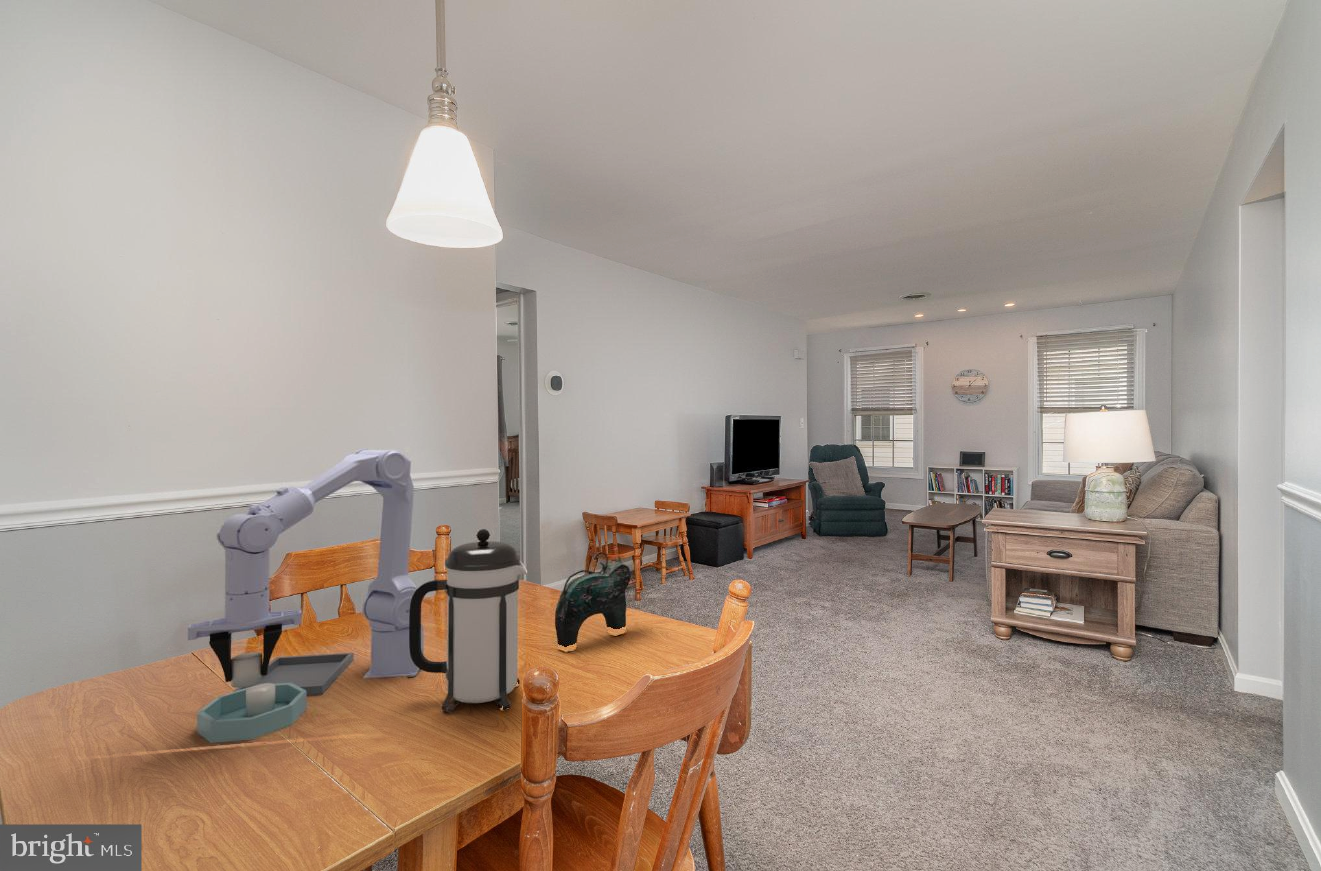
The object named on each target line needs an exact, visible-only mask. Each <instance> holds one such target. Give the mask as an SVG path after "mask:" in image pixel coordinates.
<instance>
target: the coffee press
mask: <svg viewBox="0 0 1321 871" xmlns="http://www.w3.org/2000/svg"><path fill="white" fill-rule="evenodd" d="M475 536H476V538H477V540H478V541H475V542H468V543H463V544H461V545H458V546H456V547H454V548H453V549H452V550H451V551H450V552H449V554H448V556H447V558H446V559H444V567H445V569H446V580H439V579H433V580H429V581H426V582H425V583H423V584H421V585H420V586H419V587H417V590H416V591H415V593H414V594H413V596H412V599H411V603H410V613H409V649H410V656H411V659H412V661H413V663H414V664H415V665H416V666H417V667H418V668H419V670H421V671H423V672H427V673H433V674H434V673H435V674H445V679H446V691H447V695H446V697H445V699H444V701H443V702H442V704H441V710H442V711H443V712H445V713H446V714H450V712H451V713H452V712H453V711H454V709H455V708H456V706H458V704H460V703H466V704H479V703H480V704H481V703H488V702H492V701H494V702H495V703H496V705H497V707H498V709H499V708H502V706H503V710H505V711H507V710H508V709H507V708H509V709H511V702H510V700H509V699H510V698H509V696H508V694H510V693H511V692H512V691H513V690H514V689H515V686H516V684H517V682H518V684H519V685H520V684H521V681H520V679H519V677H518V652H519V651H518V650H519V649H518V646H519V645H518V644H519V642H518V637H519V635H518V634H519V632H518V631H519V630H518V628H519V627H518V626H519V625H518V624H519V623H518V622H519V621H518V620H519V617H518V615H519V611H518V610H519V609H518V608H519V605H518V604H519V600H518V598H519V593H518V592H519V589H520V577H519V575H527V574H528V570H527V567H526V566H525V565H524V563H523V562H522V561H521V555H519V554H518V551H517V549H516V548H515V547H514V546H513V545H511V544H509V543H506V542H502V541H492V540H491V541H488V540H489V539H490V536H491V534H490V531H488V530H487V529H485V528H483V529H482V528H481V529H480V530H478V531H477V534H476V535H475ZM438 591H445V594H446V661H434V660H433V661H432V660H429V659H428V658H426V656H425V654H424V655H423V654H422V651H421V625H422V604H423V600H424V598H425V596H426V595H427V594H429V593H431V592H438ZM452 699H453V701H452V702H451V700H452ZM450 702H451V703H450ZM449 704H450V705H449ZM506 709H507V710H506Z"/></svg>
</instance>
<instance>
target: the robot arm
mask: <svg viewBox="0 0 1321 871" xmlns="http://www.w3.org/2000/svg"><path fill="white" fill-rule="evenodd" d="M411 465H412V462H411V460H410V459H409V458H408V457H407V455H405V454H404V452H402V451H400V450H398V449H368V448H361V449H358V450H357V451H354V452H353V453H352V454H347V455H346V456H345V457H344V458H343V459H342V460H341V461H340V462H339V463H337V464H335V465H334V466H332V467H331V468H330V469H328V470H326V471H325V472H323V473H322V474H320V475H319V476H318V477H316V478H314V479H313V480H311V481H310V482H308V483H307V484H306V485H304V486H303V487H297V486H289V487H284V486H283V487H279V488H278V489H277V490H275V493H276V494H275V495H273V496H272V497H270V498H269V499H267V500H265V501H264V502H263V501H262V503H260V504H253V505H251V506H249V508H248V509H249V510H248V512H247V513H238V514H234V515H231V516H229V518H227V519H226V520H225V521H224V522H223V524H222V525H221V527H220V529H219V530H220V531H219V532H217V533H216V539H217V542H218V544H219V545H220V546H221V547H222V548H223V549H224V551H225V552H224V556H225V557H224V558H225V559H224V560H225V561H224V562H225V563H224V569H225V570H224V571H225V572H224V573H225V574H224V577H225V578H224V579H225V580H224V617H223V618H218V619H212V620H209V621H203V622H196V623H190V624H189V625H188V627H187V641H193V640H197V639H198V638H205V637H209V641H208V643H209V646H210V648H211V649H212V651H213V653H214V654H215V656H216V657H217V659H218V661H219V663H220V666H221V669H222V671H223V674H224V679H225V680H224V682H225V683H229V682H230V683H231V659H232V635H233V633H239V632H241V633H242V632H249V631H255V630H261V629H263V633H262V634H263V635H262V638H263V640H262V644H263V646H262V647H263V649H262V650H263V652H262V676H264V675H267V670H268V665H269V663H270V662H271V657H272V655H273V652H274V651H275V647H276V645H277V643H278V641H279V640H280V637H281V635H282V632H283V626H289V625H294V626H297V625H302V609H294V610H282V611H280V610H279V611H270V549H271V548H272V547H273V546H274V545H275V544H276V542H277V541H278V538H279V536H280V535H281V534H282V533H284V532H285V531H286V530H289V529H290V528H292V527H293V526H294V525H296V524H298V523H299V522H301V521H302V520H305V519H306V518H307V517H308V516H310V515H311V514H312V513H313V512H314V509H315V504H316V503H318V502H320V501H322V500H324V499H325V498H327V497H328V496H330V495H332V494H334V493H335V492H338V491H339V490H341V489H343V488H344V487H346V486H348V485H350V484H352V483H354V482H361V483H363V484H365V485H368V486H370V487H372V488H373V489H374V490H375V491H377V493H378V494H379V495H380V496H381V497H382V498H383V500H382V513H381V515H382V516H381V525H380V536H379V537H380V539H379V553H378V564H377V566H378V567H377V576H376V577H375V578H374V580H372V581H371V583H370V584H369V585H368V587H367V588H368V590H367V594H366V597H365V599H364V601H363V603H362V614H363V617H364V618H365V619H366V620H368V621H369V622H368V623H369V624H368V626H369V627H370V668H369V669H368V671H367V672H366V673H365V675H363V679H374V678H375V679H376V678H388V677H391V678H392V677H402V676H406V677H408V678H410V677H416V676H417V675H418V673H419V671H420V669H419V668H418V667H417V666H416V665H415V664H414V663H413V661H412V659H411V656H410V649H409V613H410V603H411V599H412V596H413V594H414V593H415V591H416V590H417V589H418V587H417V585H416V584H415V583H414V582H413V581H412V579H411V578H410V577H409V575H408V573H409V561H410V552H411V550H410V549H411V535H412V523H413V522H412V519H413V510H414V509H413V507H414V495H415V494H414V493H415V490H414V483H413V481H412V476H411V467H412V466H411ZM424 635H425V633H424V627H423V624H421V651H422V654H423V655H424V656H425V654H424V652H425V651H424V650H425V648H424V645H425V644H424V640H425V639H424V638H425V637H424Z"/></svg>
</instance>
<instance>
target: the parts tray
mask: <svg viewBox="0 0 1321 871" xmlns="http://www.w3.org/2000/svg"><path fill="white" fill-rule="evenodd" d="M354 654H355V653H354V652H340V653H338V652H337V653H324V654H307V655H291V656H290V655H287V656H276V657H274V658H273V659H272V660H270V661H269V665H268V670H267V675H264V676H262V681H261V682H259V683H257V684H254V685H251V686H247V687H239V688H235V689H233V691H232V692H235V691H238V690H242V689H245V688H248V687H252V686H255V685H259V684H265V683H272V684H281V683H293V684H295V685H297V686H298V687H300V688H302V689H304V690H306V691H307V696H320V695H323V694H324V693H326V691H327V690H328V689H329V688H330V687H331V686H332V685H333V684H334V682H335V681H336V680H337V679H338V678H339V677H340V676H341V675H342V673H343V672H345V671H346V669H347V668H348V667H349V666H350V665H351V663H352V662H354V657H355V656H354Z"/></svg>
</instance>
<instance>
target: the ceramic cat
mask: <svg viewBox="0 0 1321 871" xmlns="http://www.w3.org/2000/svg"><path fill="white" fill-rule="evenodd" d="M599 555H604V556H605V558H606V560H605V561H606V563H605V562H603V561H600V562H599V563H600V564H601V566H602V567H601V569H600V571H591V570H586V569H582V570H578V571H575V572H574V573H572V574H571V575H569V576H568V577H567V579H566V580H565V583H564V586H563V590H562V591H561V593H560V595H559V599H558V601H557V603H556V607H555V612H554V626H555V633H556V640H557V645H558V644H559V645H562V646H564V647H567V646H569V645H573V644H575V643H577V642H578V636H579V631H580V629H581V627H582V625H583V623H584V622H585V621H586V620H587V619H588V618H591V617H592V616H595V615H599V614H602V616H603V617H604V619H605V623H606V628H607V627H611V628H613V629H620V628H622V627H625V626H627V617H626V616H627V615H626V614H627V613H626V612H627V599H626V598H627V597H626V591H627V590H626V589H627V587H628V585H630V581H631V570H630V567H629V566H628V565H627V564H625V563H623V562H622V560H621V557H619V556H618V555H617V556H616V559H615V561H610V562H608V561H609V560H608V555H607V553H605V552H602V551H598V552H597V553H596V554H595V555H594V557H593V559H594V560H596V559H597V557H598V556H599ZM580 573H584V574H582V575H580V576H577V577H575V578H573V579H572V580H571V578H572V577H574V576H576V575H578V574H580ZM569 581H570V582H569Z"/></svg>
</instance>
